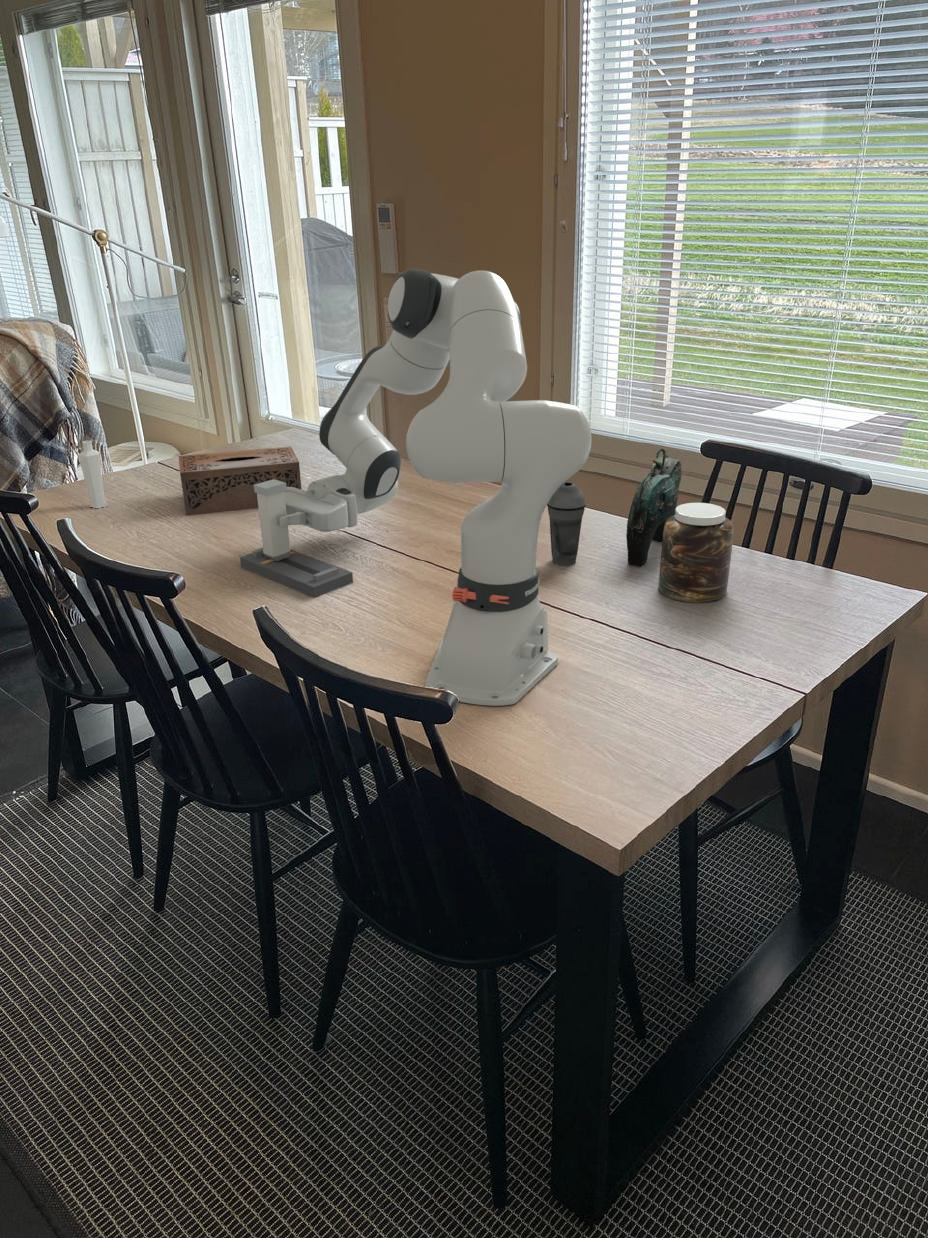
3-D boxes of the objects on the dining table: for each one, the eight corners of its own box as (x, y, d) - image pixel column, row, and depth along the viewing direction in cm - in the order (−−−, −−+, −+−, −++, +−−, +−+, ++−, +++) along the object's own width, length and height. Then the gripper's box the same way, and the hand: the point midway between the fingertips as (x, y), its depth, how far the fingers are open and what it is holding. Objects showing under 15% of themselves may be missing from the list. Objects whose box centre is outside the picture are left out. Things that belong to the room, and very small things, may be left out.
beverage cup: (581, 570, 174) (586, 466, 166) (542, 567, 176) (545, 464, 167) (584, 555, 181) (589, 455, 172) (547, 553, 182) (550, 453, 174)
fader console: (353, 582, 170) (351, 567, 169) (314, 597, 164) (313, 581, 163) (278, 553, 184) (277, 539, 182) (241, 566, 178) (239, 552, 176)
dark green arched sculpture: (653, 533, 192) (661, 437, 184) (683, 538, 189) (693, 441, 181) (617, 564, 177) (624, 462, 168) (650, 571, 174) (658, 466, 165)
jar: (675, 572, 173) (682, 495, 166) (736, 586, 167) (746, 506, 160) (647, 593, 164) (654, 513, 158) (710, 609, 158) (720, 526, 152)
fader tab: (293, 555, 176) (286, 483, 170) (274, 562, 173) (266, 488, 167) (280, 550, 179) (273, 478, 173) (261, 557, 176) (252, 484, 170)
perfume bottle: (114, 504, 213) (102, 440, 206) (98, 510, 210) (86, 444, 203) (101, 501, 215) (89, 437, 209) (85, 506, 212) (72, 442, 205)
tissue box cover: (186, 516, 206) (180, 472, 201) (184, 497, 218) (178, 455, 214) (302, 504, 212) (299, 462, 208) (294, 486, 225) (290, 446, 221)
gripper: (292, 475, 187) (234, 491, 177) (360, 495, 174) (302, 514, 165) (295, 505, 189) (238, 522, 180) (362, 527, 177) (305, 547, 168)
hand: (269, 518), depth 172 cm, fingers open, 4 cm apart
